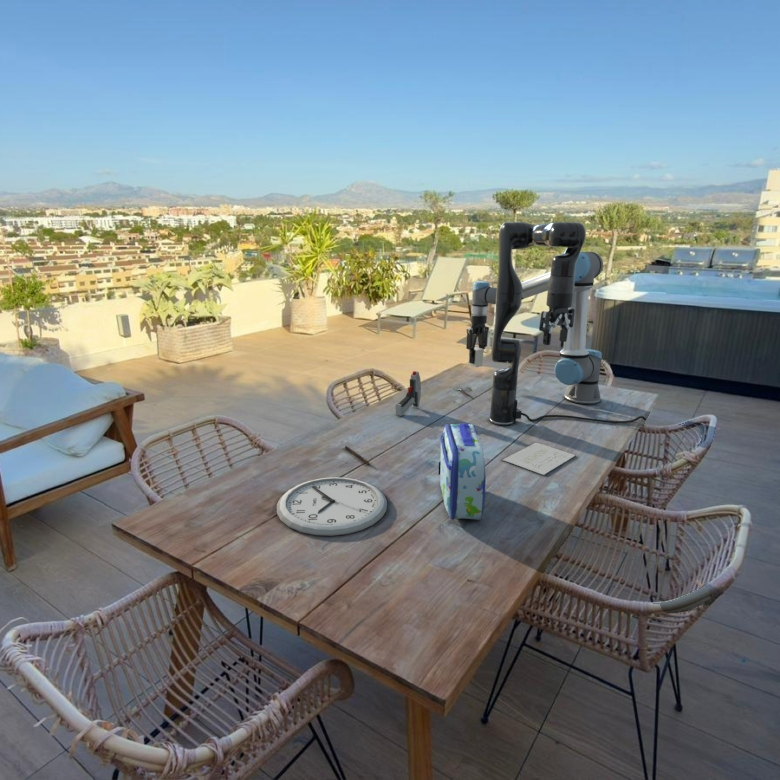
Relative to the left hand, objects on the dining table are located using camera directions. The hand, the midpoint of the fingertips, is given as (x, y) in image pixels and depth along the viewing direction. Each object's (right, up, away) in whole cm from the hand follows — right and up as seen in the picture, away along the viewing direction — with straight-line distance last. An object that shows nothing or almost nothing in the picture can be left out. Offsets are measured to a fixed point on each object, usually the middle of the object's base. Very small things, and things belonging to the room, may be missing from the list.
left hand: (554, 343), depth 164 cm
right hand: (-10, -1, +91) cm, 92 cm away
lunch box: (-32, -46, -18) cm, 59 cm away
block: (-10, -3, +91) cm, 92 cm away
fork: (-18, -16, +79) cm, 82 cm away
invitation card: (-2, -38, +10) cm, 39 cm away
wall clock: (-67, -46, -21) cm, 84 cm away
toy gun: (-44, -24, +53) cm, 73 cm away
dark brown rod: (-63, -37, +9) cm, 73 cm away
